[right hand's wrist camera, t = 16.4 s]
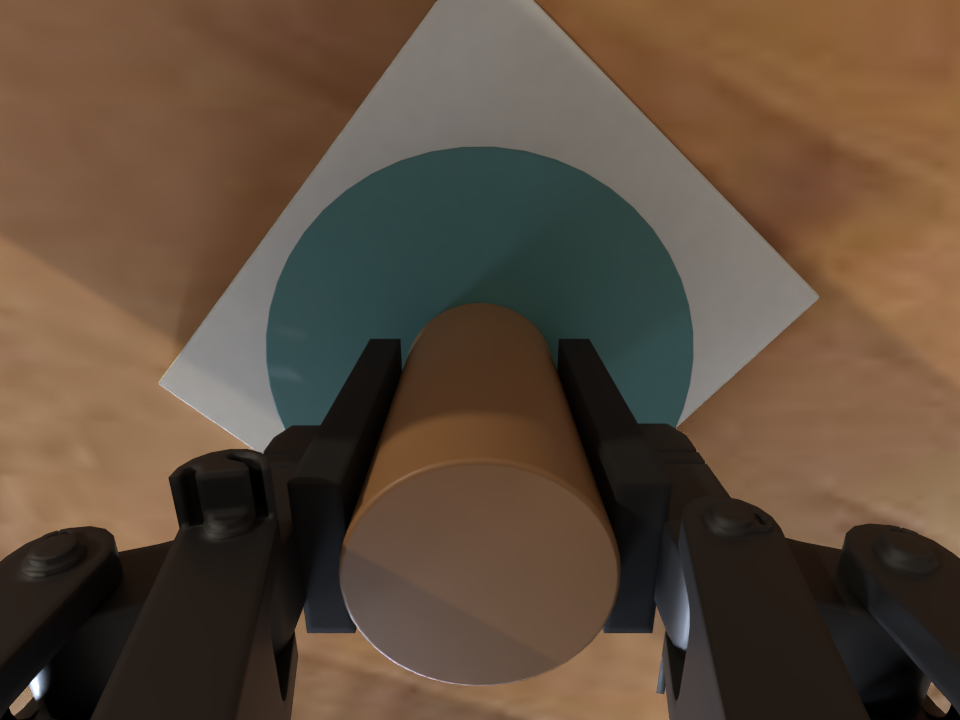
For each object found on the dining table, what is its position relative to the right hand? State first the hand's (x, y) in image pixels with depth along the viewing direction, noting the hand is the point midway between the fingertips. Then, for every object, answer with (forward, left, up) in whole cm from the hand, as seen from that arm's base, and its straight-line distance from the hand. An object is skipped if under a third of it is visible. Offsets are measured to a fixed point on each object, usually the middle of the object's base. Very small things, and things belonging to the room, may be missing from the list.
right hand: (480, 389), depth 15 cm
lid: (0, 0, -2) cm, 2 cm away
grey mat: (0, 0, -4) cm, 4 cm away
